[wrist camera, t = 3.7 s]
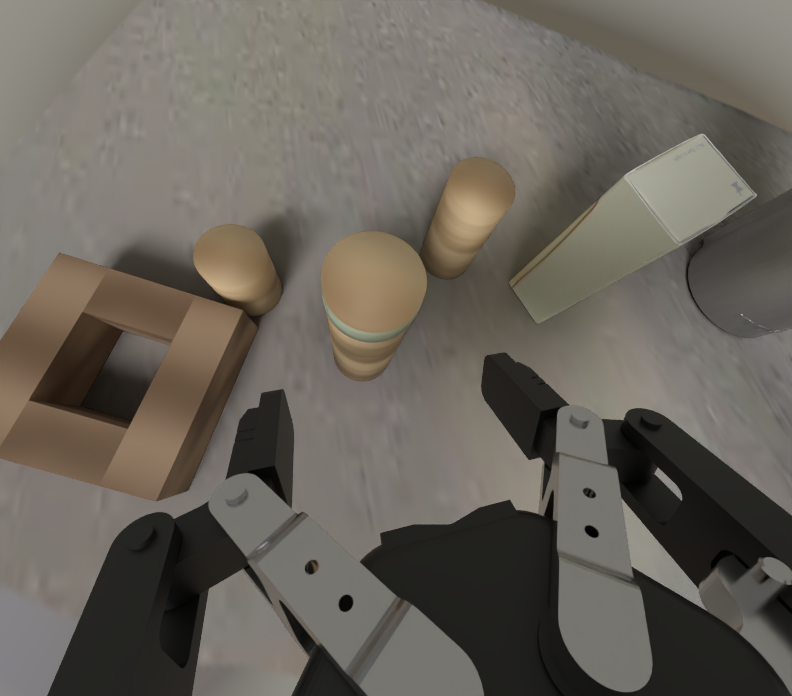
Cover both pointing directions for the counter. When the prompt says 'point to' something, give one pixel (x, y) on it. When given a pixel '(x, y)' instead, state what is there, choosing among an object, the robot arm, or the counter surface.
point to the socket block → (82, 361)
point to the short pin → (238, 268)
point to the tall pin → (370, 299)
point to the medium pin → (466, 216)
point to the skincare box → (633, 226)
